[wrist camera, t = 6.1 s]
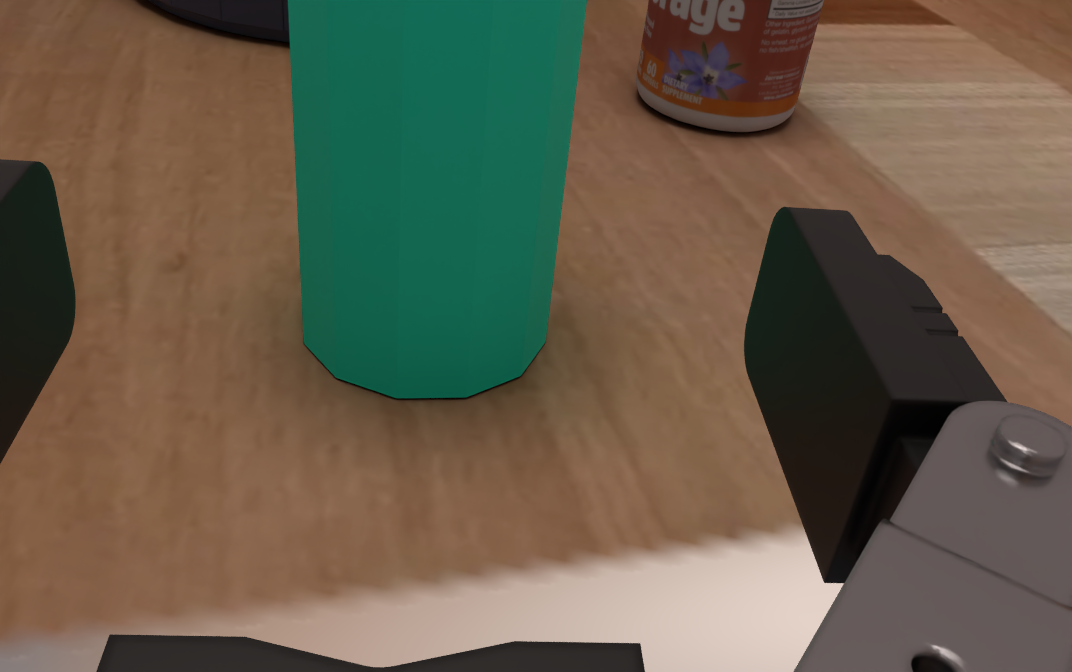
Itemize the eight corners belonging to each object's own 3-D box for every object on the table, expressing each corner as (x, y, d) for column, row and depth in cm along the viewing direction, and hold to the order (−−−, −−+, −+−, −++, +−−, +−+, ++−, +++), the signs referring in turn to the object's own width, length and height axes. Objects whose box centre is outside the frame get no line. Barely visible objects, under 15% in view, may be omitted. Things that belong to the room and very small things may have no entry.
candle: (417, 238, 28) (433, -253, 22) (593, 324, 26) (673, -206, 19) (248, 324, 24) (199, -248, 18) (435, 437, 22) (464, -188, 15)
